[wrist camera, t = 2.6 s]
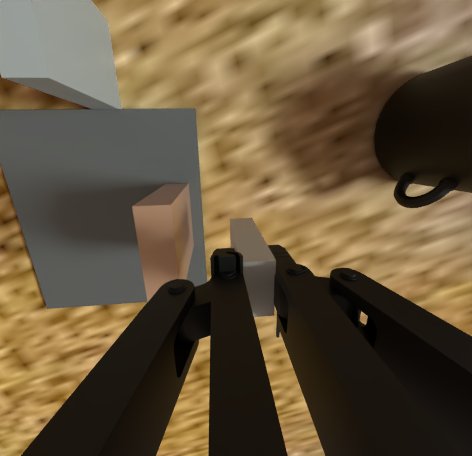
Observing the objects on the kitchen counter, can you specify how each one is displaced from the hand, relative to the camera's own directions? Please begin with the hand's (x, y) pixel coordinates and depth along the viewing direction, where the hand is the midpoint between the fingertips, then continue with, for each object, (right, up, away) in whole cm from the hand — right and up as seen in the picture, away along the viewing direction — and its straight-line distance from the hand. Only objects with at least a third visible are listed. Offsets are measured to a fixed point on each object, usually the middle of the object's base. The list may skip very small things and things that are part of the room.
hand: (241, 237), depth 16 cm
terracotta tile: (-6, +2, +6) cm, 8 cm away
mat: (-12, +2, +6) cm, 13 cm away
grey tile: (-11, +13, +2) cm, 17 cm away
